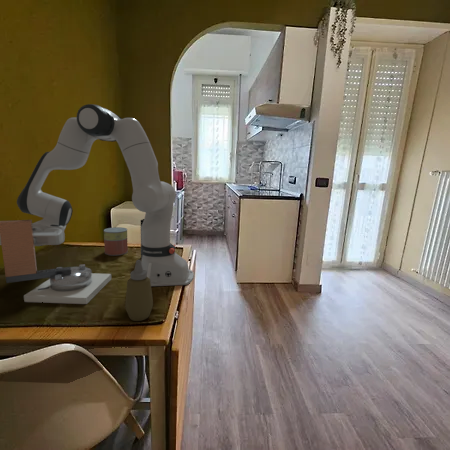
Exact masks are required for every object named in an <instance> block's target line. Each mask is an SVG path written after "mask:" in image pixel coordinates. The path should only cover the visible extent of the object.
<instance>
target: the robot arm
mask: <svg viewBox="0 0 450 450" xmlns="http://www.w3.org/2000/svg"><path fill="white" fill-rule="evenodd" d="M96 140H100V141H103V142H111V143H112V142H117V145H118V147H119V149H120V151H121V153H122V156H123V159H124V161H125V164H126V166H127V168H128V171H129V175H130V177H131V179H130V180H131V184H132V195H131V201H132V205H133V206H134V207H135V208H136V210H138V211H139V212H142V213H145V214H144V218H143V219H144V221H143V223H142V244H141V243H140V258H141V264H142V268H143V270H146V271H147V277H148V278H149V279H150V282H151V287H164V286H166V287H167V286H187V285H189V284H191V283H192V282H193V280H194V279H195V278H194V277H195V276H194V275H195V272H194V271H193V270H191V269H189V264H188V261H187V260H186V259H184V258H183V257H182V256H180V255H179V254H178V253H177V252H176V244H173V243H171V224H172V217H173V210H174V203H175V199H176V195H177V194H176V189H175V188H174V186H173V185H172V184H170V183H168V182H165V181H162V180H161V179H160V174H159V163H158V160H157V157H156V155H155V152H154V149H153V147H152V144H151V141H150V140H149V137H148V136H147V133H146V131H145V130H144V127H143V126H142V124H141V123H140V121H138V120H137V119H135V118H133V117H124V118H121V116H120V115H117V114H116V113H114V112H113V111H111V110H109V109H107V108H105V107H102V106H100V105H98V104H93V103H92V104H91V103H87V104H85V105H82V106H81V107H80V108H78V111H77V112H76V117H70V118H68V119H67V120H66V121H65V123H64V125H63V126H62V129H61V130H60V133H59V136H58V138H57V142H56V145H55V146H54V148H53V149H52V150H51V151H45V152H44V153H42V155H41V157H40V158H39V160H38V161H37V163H36V165H35V167H34V169H33V170H32V172H31V174H30V177H29V178H28V181H27V182H26V184H25V186H24V187H23V188H22V190H21V192H20V193H19V195H18V197H17V198H16V205H17V207H18V209H19V210H20V211H21V212H22V213H24V214H28V215H32V216H37V217H39V218H42V219H40V220H37V221H35V222H32V227H33V237H34V247H40V246H41V247H43V246H48V245H49V246H50V245H51V246H57V245H61V244H63V243H64V242H65V238H66V236H65V235H66V234H65V230H66V227H67V225H68V224H69V222H70V221H71V218H72V216H73V210H74V209H73V207H72V205H71V203H70V200H67V199H64V198H61V197H58V196H55V195H53V194H50V193H47V192H43V190H42V187H43V185H44V184H45V181H46V179H47V178H48V176H49V174H50V173H51V172H52V171H53V170H54V171H56V170H63V171H72V170H77V169H80V168H83V166H85V165H86V163H87V161H88V160H89V159H88V158H89V156H90V153H91V150H92V146H93V144H94V142H95V141H96ZM0 246H2V245H1V237H0Z"/></svg>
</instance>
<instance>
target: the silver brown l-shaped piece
mask: <svg viewBox="0 0 450 450" xmlns="http://www.w3.org/2000/svg"><path fill="white" fill-rule="evenodd" d="M32 223H33V219H21V220H20V219H19V220H18V219H17V220H0V237H1V245H0V246H1V250H2V251H1V253H2V258H3V267H4V274H5V281H6V282H5V283H6V284H10V283H18V282H25V281H31V280H40V279H50V287H51V289H53V290H55V291H73V290H77V289H81V288H84V287H86V286H88V285H89V284H91V282H92V273H93V272H92V269H91V268H89V267H86V264H79V266H67V267H63V266H58V267H56V268H50V269H40V270H38V268H37V258H36V248H35V247H36V246H34V237H33V227H32Z"/></svg>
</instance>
